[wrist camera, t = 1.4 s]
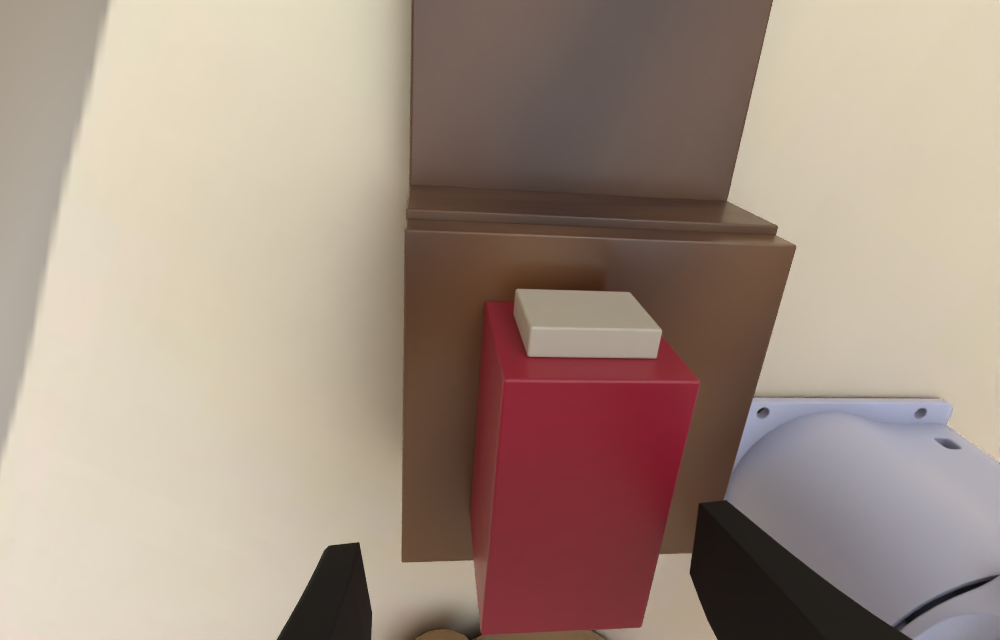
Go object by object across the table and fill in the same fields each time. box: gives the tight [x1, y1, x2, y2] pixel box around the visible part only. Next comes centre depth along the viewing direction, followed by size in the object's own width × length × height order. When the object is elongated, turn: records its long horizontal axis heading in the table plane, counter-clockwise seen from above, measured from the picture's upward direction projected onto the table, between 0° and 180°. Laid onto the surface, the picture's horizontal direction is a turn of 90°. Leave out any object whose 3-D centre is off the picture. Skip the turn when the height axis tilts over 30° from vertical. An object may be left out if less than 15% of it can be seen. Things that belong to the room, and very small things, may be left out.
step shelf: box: [402, 0, 796, 562], centre depth 17 cm, size 10×21×6 cm, turn 176°
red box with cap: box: [470, 289, 700, 635], centre depth 15 cm, size 4×8×4 cm, turn 176°
